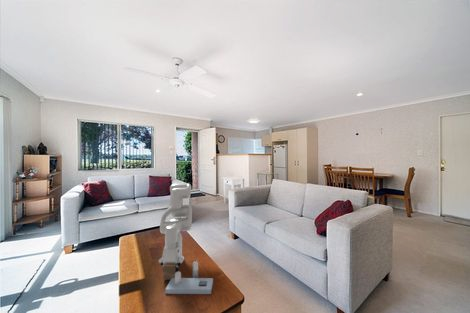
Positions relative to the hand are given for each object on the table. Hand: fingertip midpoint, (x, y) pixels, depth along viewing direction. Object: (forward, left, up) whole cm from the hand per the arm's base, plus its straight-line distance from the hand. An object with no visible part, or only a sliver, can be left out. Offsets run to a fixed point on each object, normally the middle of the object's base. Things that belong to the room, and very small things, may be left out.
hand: (170, 272), depth 118 cm
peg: (0, +16, -3) cm, 16 cm away
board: (+9, +15, -3) cm, 18 cm away
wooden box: (0, 0, -2) cm, 2 cm away
